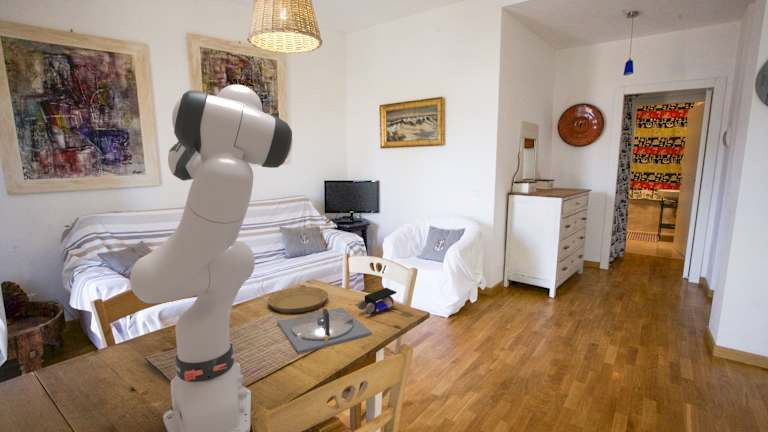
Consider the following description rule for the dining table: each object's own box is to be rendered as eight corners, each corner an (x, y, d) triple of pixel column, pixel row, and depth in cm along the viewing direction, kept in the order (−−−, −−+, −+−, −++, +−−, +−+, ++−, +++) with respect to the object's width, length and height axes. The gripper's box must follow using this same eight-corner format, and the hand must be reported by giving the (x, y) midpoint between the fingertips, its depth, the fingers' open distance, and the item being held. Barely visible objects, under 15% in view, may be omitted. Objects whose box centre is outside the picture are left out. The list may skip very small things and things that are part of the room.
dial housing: (371, 334, 125) (371, 326, 124) (298, 354, 112) (297, 344, 112) (341, 309, 146) (341, 302, 146) (277, 323, 134) (277, 315, 133)
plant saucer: (276, 321, 137) (276, 312, 137) (262, 300, 158) (261, 293, 157) (337, 307, 149) (337, 299, 149) (316, 290, 170) (316, 283, 169)
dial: (289, 318, 136) (288, 295, 135) (346, 310, 142) (345, 289, 141) (294, 344, 116) (293, 318, 115) (359, 334, 122) (359, 309, 121)
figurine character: (370, 323, 137) (398, 307, 147) (367, 303, 136) (396, 289, 146) (358, 317, 142) (386, 303, 152) (356, 299, 141) (384, 285, 151)
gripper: (228, 185, 108) (237, 232, 110) (230, 187, 127) (237, 227, 129) (205, 188, 106) (214, 236, 107) (210, 189, 125) (218, 230, 126)
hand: (227, 231), depth 118 cm, fingers closed
